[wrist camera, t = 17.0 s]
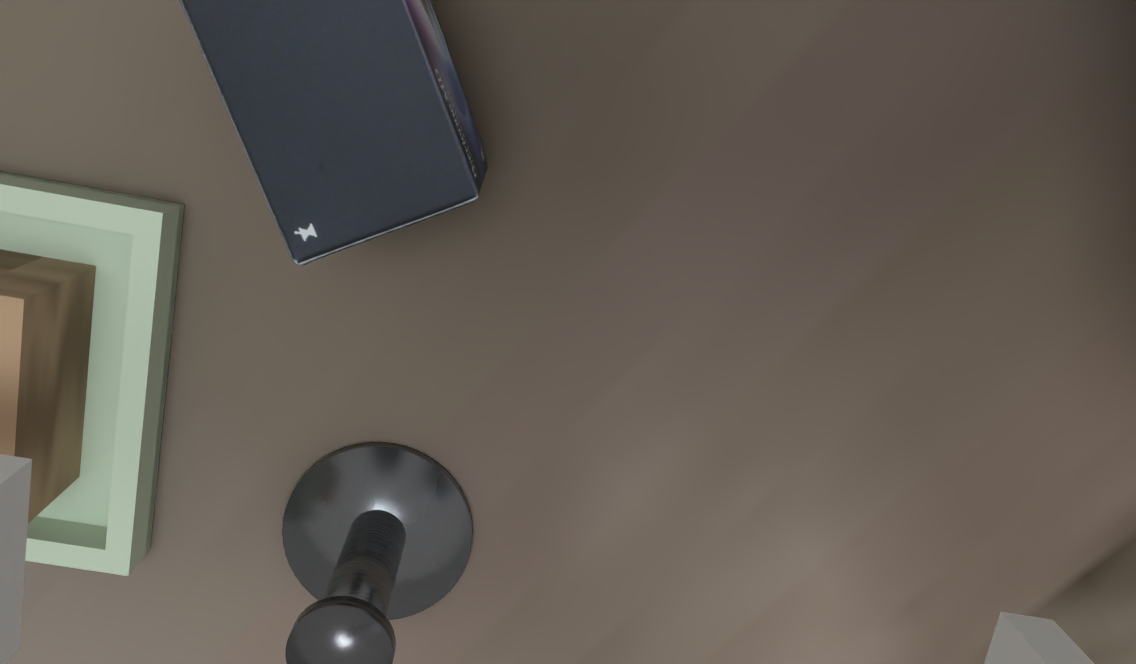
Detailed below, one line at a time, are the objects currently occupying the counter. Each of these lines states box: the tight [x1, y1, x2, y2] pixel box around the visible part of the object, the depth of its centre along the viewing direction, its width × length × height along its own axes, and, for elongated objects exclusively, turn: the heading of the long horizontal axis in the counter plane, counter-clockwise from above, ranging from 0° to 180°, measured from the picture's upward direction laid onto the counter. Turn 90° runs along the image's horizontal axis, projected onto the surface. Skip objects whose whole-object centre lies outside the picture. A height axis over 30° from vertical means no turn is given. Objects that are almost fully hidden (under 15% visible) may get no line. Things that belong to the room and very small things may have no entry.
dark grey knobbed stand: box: [282, 442, 473, 664], centre depth 40 cm, size 8×8×10 cm
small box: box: [180, 0, 487, 265], centre depth 35 cm, size 11×6×10 cm, turn 20°
